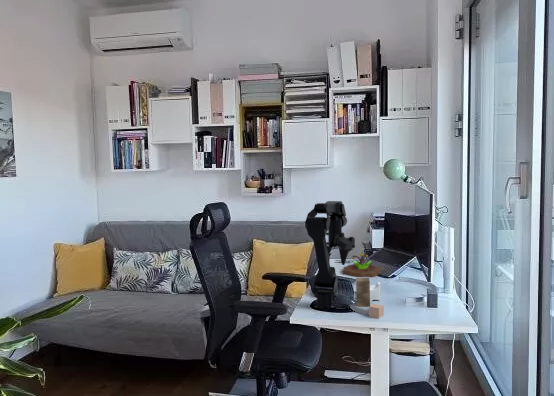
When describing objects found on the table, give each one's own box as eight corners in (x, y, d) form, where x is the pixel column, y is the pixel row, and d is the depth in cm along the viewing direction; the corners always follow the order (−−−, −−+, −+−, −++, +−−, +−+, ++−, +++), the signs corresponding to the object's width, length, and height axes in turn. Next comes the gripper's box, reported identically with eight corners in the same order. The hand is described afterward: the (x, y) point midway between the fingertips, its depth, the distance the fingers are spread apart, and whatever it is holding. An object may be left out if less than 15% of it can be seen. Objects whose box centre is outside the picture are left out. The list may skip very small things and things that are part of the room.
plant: (338, 276, 238) (337, 254, 237) (347, 267, 256) (347, 247, 255) (377, 279, 230) (377, 256, 229) (384, 270, 248) (384, 249, 247)
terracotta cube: (379, 318, 173) (379, 308, 173) (369, 316, 175) (369, 306, 175) (383, 315, 176) (383, 305, 176) (373, 313, 178) (373, 303, 178)
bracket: (381, 301, 194) (380, 283, 193) (363, 302, 194) (363, 284, 193) (374, 292, 207) (374, 275, 206) (358, 293, 207) (358, 276, 206)
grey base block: (365, 316, 178) (365, 309, 177) (349, 311, 184) (349, 305, 184) (378, 311, 183) (378, 305, 182) (362, 306, 189) (362, 300, 189)
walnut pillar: (356, 306, 181) (356, 281, 180) (356, 302, 186) (356, 277, 185) (370, 306, 181) (369, 281, 180) (369, 302, 185) (368, 277, 185)
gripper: (332, 235, 188) (333, 273, 189) (364, 229, 199) (364, 266, 200) (313, 232, 196) (314, 269, 198) (344, 227, 208) (345, 262, 209)
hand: (335, 266), depth 201 cm, fingers open, 9 cm apart
